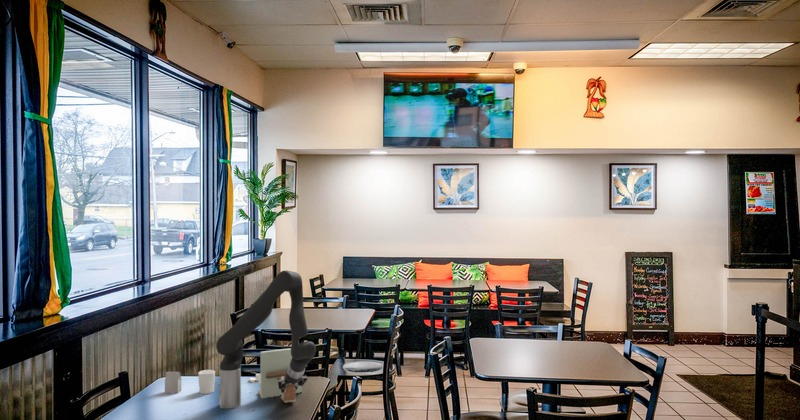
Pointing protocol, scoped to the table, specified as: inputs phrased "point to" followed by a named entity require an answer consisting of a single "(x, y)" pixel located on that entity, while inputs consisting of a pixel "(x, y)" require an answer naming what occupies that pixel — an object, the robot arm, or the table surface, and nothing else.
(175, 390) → the grey brown rectangular block
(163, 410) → the table surface
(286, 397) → the wall cabinet
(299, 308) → the robot arm
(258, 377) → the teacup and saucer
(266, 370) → the wall board
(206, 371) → the white cup
